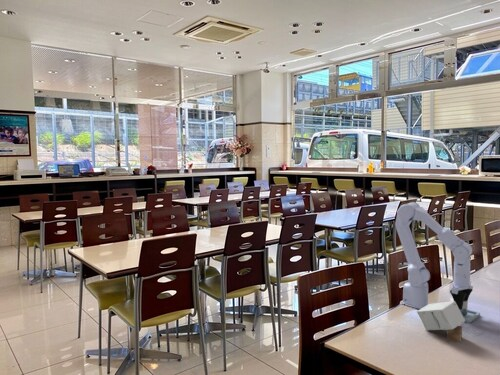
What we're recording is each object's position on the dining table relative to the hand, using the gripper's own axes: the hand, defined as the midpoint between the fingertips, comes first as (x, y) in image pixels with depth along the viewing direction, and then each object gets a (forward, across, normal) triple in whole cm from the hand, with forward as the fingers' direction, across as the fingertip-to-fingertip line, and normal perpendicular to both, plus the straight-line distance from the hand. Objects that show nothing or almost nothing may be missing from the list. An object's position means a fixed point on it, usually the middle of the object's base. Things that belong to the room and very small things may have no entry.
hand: (460, 307), depth 151 cm
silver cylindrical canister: (+2, 0, 0) cm, 2 cm away
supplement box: (0, -20, +5) cm, 21 cm away
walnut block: (+3, -22, -6) cm, 23 cm away
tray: (+3, 0, 0) cm, 3 cm away
